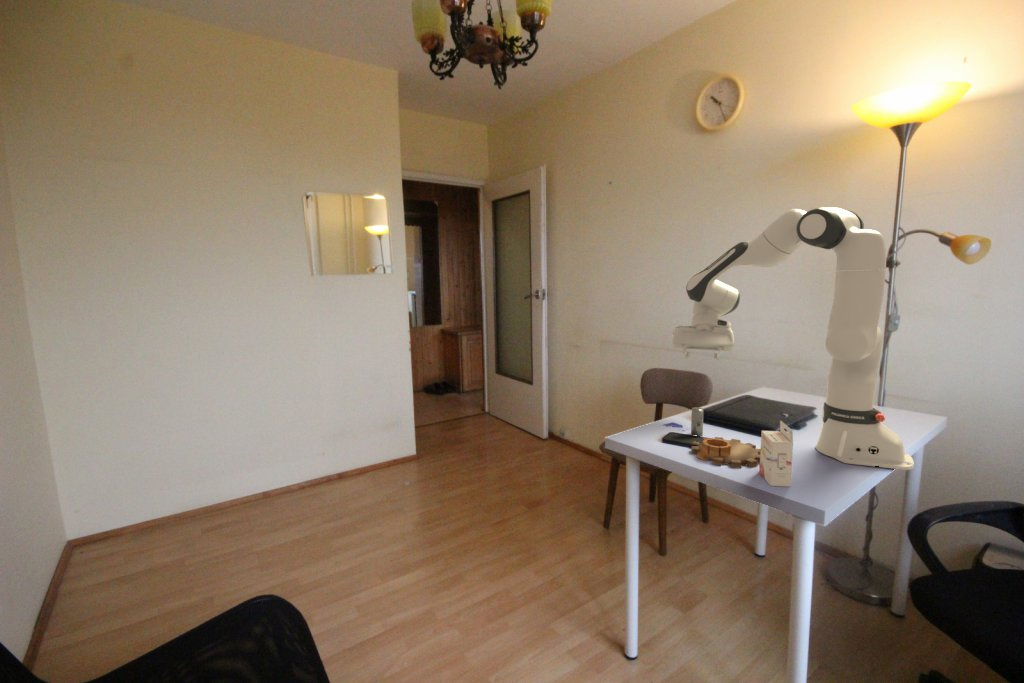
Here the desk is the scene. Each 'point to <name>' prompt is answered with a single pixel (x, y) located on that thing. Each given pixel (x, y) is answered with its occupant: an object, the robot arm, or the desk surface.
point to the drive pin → (697, 421)
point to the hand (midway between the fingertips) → (701, 358)
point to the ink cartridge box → (776, 456)
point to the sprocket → (727, 452)
